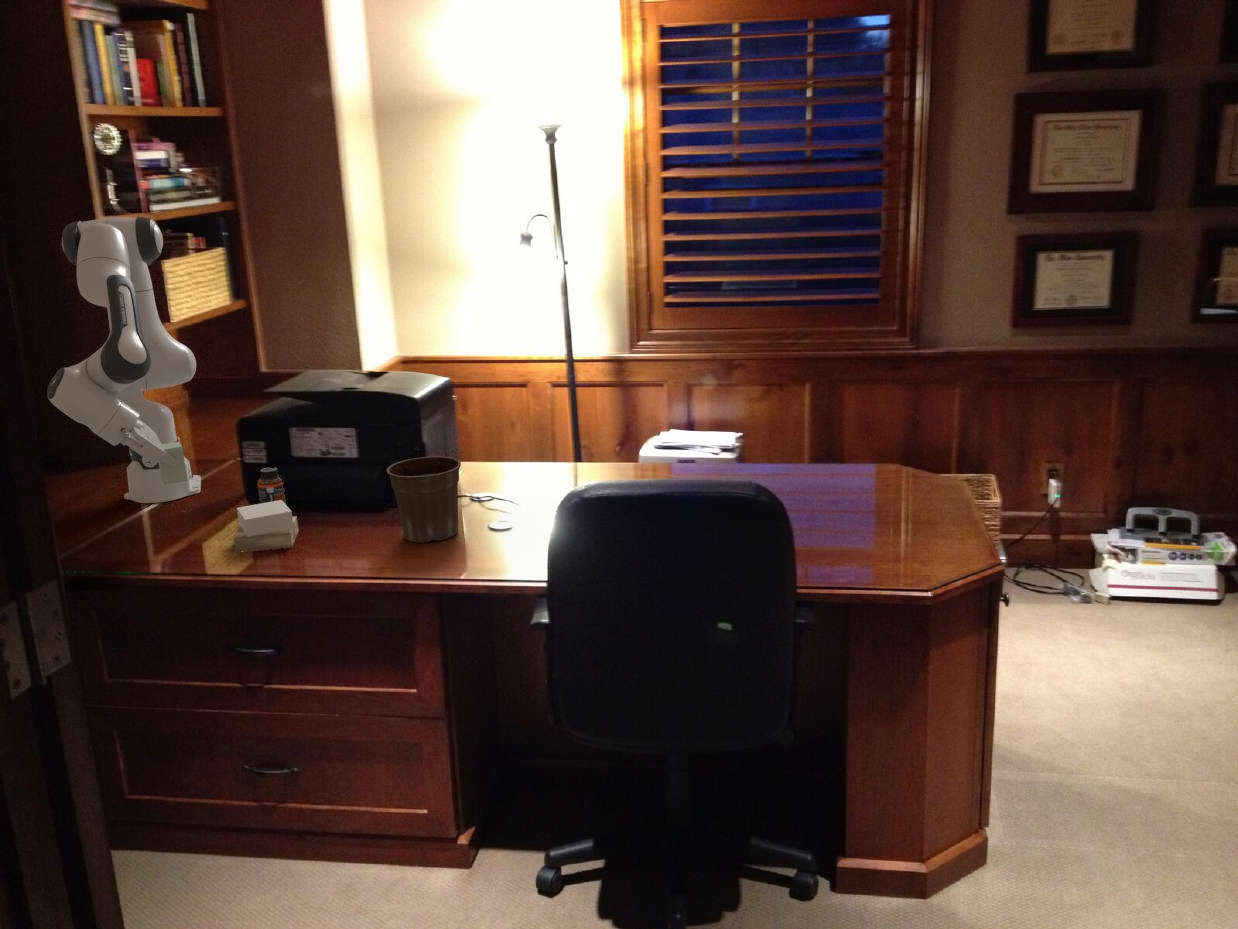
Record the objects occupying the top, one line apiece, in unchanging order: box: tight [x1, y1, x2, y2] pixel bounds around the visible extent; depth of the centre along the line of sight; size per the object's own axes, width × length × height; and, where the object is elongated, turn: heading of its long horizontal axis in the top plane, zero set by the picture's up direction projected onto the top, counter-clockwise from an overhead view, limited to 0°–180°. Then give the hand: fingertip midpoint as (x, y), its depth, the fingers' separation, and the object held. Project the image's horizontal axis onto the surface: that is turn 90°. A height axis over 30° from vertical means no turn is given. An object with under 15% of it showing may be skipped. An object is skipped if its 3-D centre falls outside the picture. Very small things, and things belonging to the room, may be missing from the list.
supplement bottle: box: [257, 467, 287, 505], centre depth 267 cm, size 6×6×11 cm
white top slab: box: [236, 500, 294, 537], centre depth 248 cm, size 10×10×4 cm
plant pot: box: [386, 455, 462, 544], centre depth 247 cm, size 16×16×16 cm
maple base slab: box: [233, 515, 300, 553], centre depth 249 cm, size 12×12×4 cm
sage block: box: [159, 441, 187, 485], centre depth 248 cm, size 5×5×8 cm
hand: (174, 460), depth 248 cm, fingers closed on sage block, 5 cm apart
